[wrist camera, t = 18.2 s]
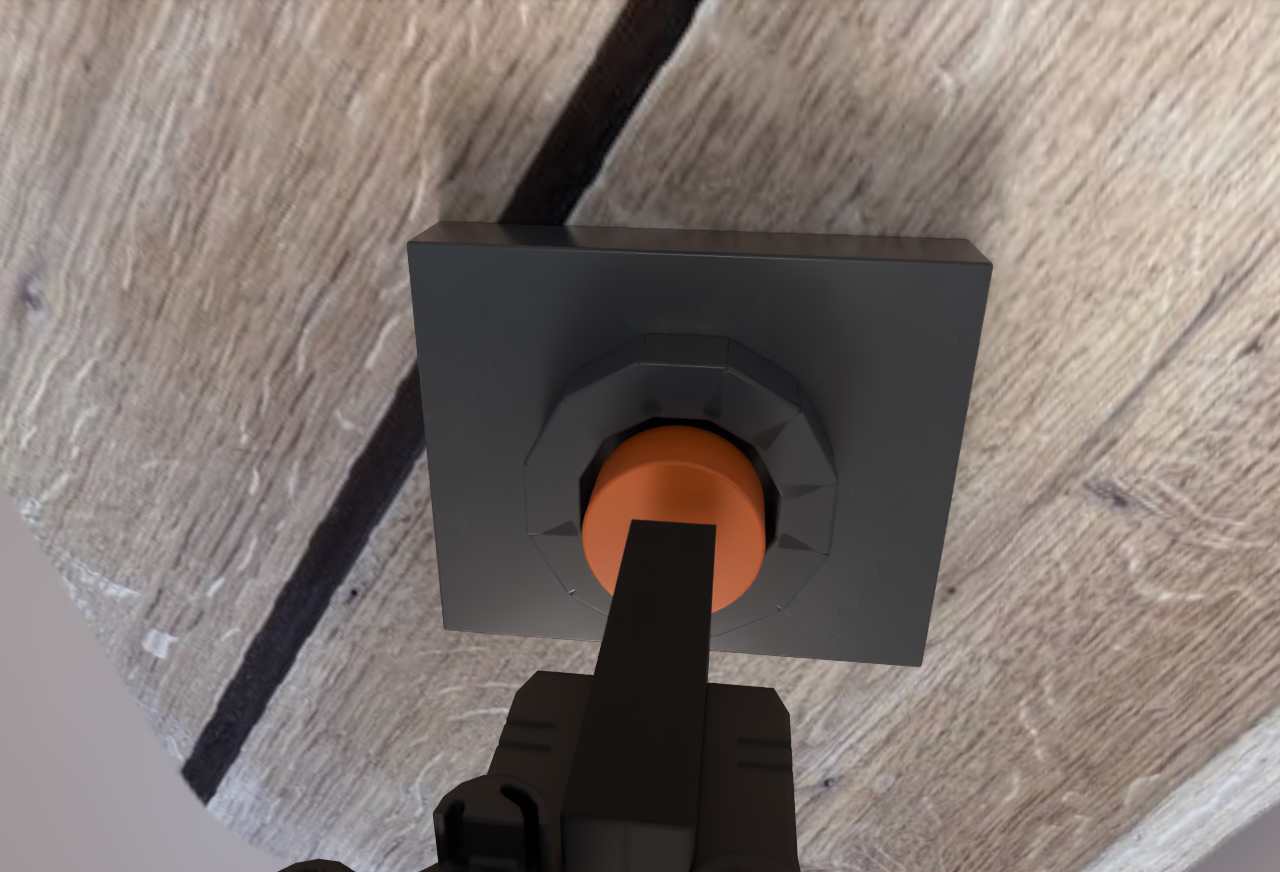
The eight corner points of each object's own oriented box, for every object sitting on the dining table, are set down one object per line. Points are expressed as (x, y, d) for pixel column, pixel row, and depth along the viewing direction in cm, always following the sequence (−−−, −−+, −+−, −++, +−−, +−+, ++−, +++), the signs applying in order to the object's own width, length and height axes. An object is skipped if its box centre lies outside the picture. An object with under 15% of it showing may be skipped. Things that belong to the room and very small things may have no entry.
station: (467, 582, 25) (419, 677, 21) (437, 220, 21) (372, 261, 17) (907, 614, 24) (936, 720, 20) (969, 239, 20) (1019, 286, 16)
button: (595, 567, 20) (582, 613, 18) (593, 419, 18) (580, 455, 17) (758, 578, 20) (759, 627, 18) (770, 428, 18) (772, 467, 17)
